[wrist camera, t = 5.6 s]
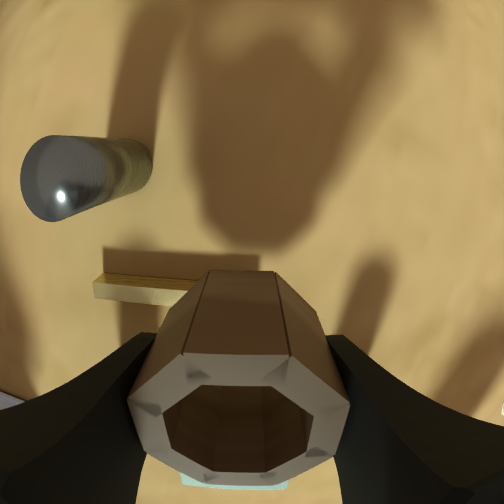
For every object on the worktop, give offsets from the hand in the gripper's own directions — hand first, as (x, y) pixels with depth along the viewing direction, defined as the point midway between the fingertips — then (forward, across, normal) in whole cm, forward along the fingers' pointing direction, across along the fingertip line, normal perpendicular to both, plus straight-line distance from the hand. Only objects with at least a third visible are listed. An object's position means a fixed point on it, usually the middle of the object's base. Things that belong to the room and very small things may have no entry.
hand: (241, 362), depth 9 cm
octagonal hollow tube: (+1, 0, 0) cm, 1 cm away
